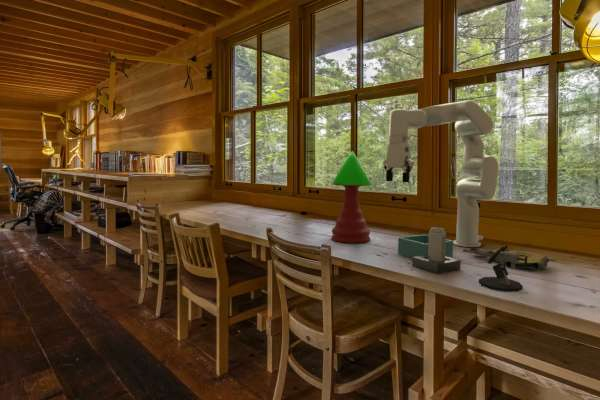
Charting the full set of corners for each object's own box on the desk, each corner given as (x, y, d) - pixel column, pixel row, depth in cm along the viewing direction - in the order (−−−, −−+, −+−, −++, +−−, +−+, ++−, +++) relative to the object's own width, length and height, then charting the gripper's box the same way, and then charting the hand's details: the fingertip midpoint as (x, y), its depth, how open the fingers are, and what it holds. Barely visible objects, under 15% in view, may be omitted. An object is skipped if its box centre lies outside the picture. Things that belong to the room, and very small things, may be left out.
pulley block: (480, 238, 168) (558, 252, 144) (480, 251, 169) (557, 267, 145) (462, 247, 160) (541, 263, 136) (462, 261, 161) (541, 279, 137)
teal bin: (424, 249, 175) (424, 234, 174) (452, 257, 161) (453, 240, 160) (397, 253, 167) (398, 237, 167) (425, 261, 154) (426, 244, 153)
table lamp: (374, 237, 202) (376, 151, 198) (364, 245, 184) (366, 149, 180) (338, 234, 210) (339, 151, 206) (325, 241, 192) (326, 150, 188)
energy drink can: (429, 264, 149) (430, 226, 148) (445, 266, 146) (447, 227, 145) (426, 268, 144) (427, 228, 142) (443, 270, 141) (444, 230, 139)
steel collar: (434, 262, 153) (435, 253, 153) (460, 269, 143) (460, 260, 142) (412, 265, 147) (412, 256, 147) (437, 274, 137) (437, 264, 137)
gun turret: (469, 272, 139) (470, 237, 137) (531, 286, 124) (533, 246, 122) (451, 279, 130) (453, 242, 129) (515, 295, 115) (518, 253, 114)
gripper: (421, 139, 154) (419, 182, 155) (391, 141, 169) (390, 180, 170) (406, 139, 150) (405, 183, 152) (377, 140, 165) (376, 181, 167)
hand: (397, 181), depth 161 cm, fingers open, 9 cm apart
